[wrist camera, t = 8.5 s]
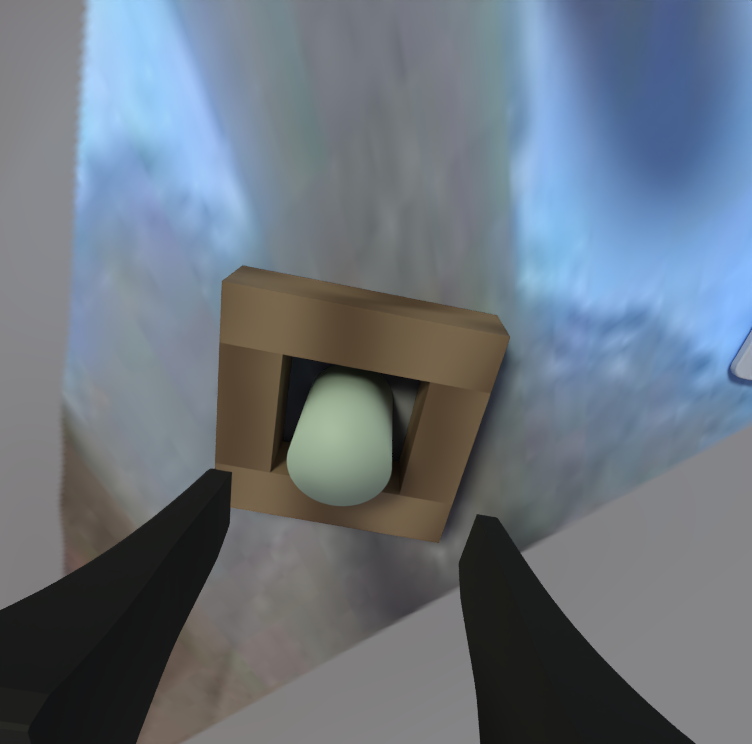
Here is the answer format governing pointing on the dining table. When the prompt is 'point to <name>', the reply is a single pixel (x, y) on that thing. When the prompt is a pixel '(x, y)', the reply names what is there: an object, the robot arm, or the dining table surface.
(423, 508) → the socket
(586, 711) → the robot arm
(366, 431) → the peg
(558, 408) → the dining table surface
